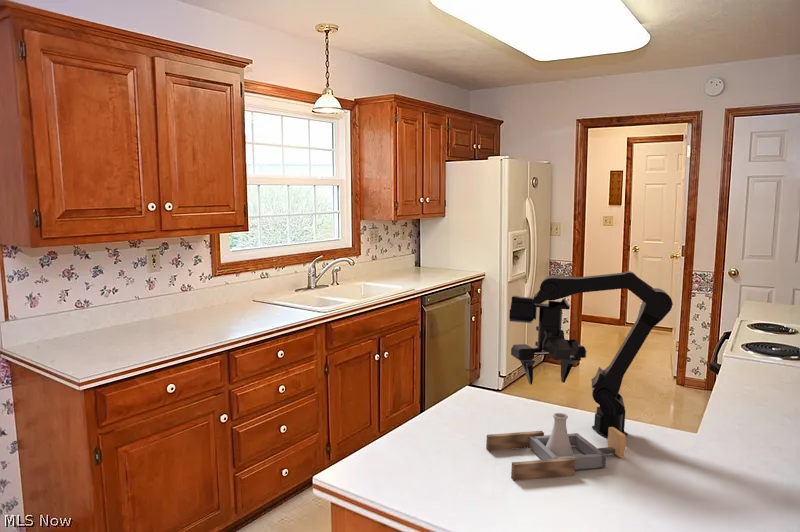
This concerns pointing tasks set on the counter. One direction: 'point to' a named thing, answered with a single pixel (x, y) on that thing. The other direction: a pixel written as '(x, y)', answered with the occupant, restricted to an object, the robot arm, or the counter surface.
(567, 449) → the flask
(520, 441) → the lane rails
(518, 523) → the counter surface
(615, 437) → the sliding frame
